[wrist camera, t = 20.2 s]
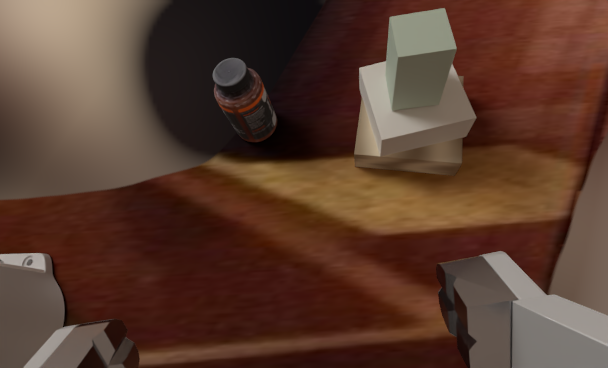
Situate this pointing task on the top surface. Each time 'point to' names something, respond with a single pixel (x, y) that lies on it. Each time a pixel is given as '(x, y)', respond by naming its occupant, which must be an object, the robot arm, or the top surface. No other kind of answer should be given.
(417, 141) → the white top slab
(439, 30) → the sage block
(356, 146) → the maple base slab
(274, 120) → the supplement bottle
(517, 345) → the robot arm
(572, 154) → the top surface
